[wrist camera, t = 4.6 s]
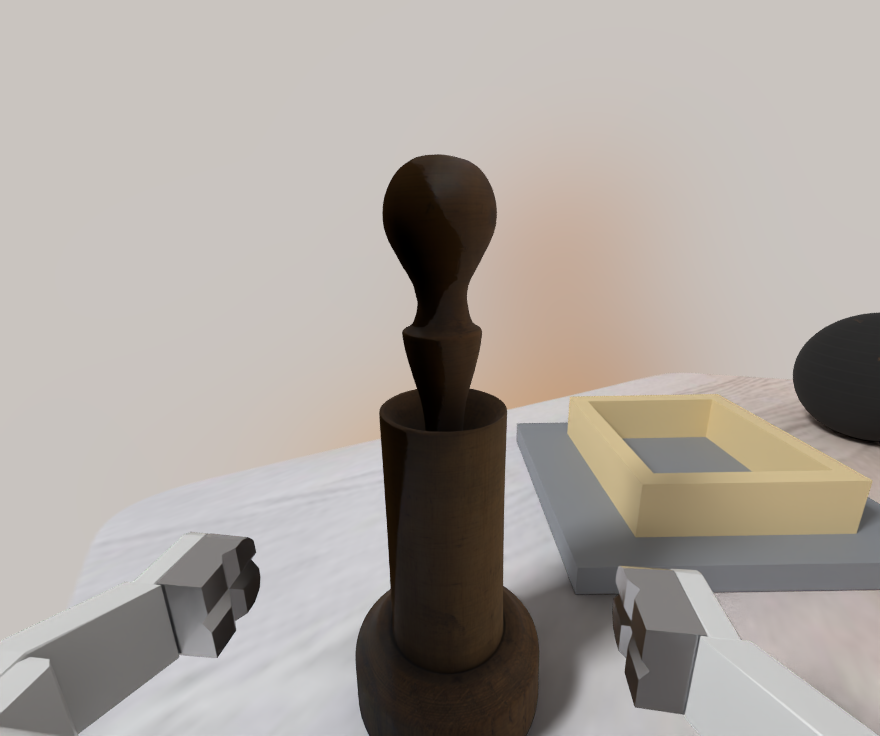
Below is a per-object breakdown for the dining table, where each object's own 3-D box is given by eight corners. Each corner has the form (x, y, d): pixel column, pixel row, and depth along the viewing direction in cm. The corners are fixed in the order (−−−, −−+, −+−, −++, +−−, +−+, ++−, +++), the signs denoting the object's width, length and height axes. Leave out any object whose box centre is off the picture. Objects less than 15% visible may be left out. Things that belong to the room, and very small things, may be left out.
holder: (736, 436, 35) (746, 384, 34) (963, 587, 20) (997, 504, 19) (516, 440, 35) (518, 388, 34) (575, 594, 20) (583, 511, 19)
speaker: (850, 465, 31) (889, 327, 28) (755, 411, 40) (777, 304, 37) (995, 465, 30) (1050, 325, 28) (864, 411, 40) (895, 303, 37)
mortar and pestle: (466, 587, 21) (465, 180, 15) (576, 702, 15) (630, 147, 10) (332, 662, 17) (274, 166, 12) (417, 842, 12) (379, 107, 7)
